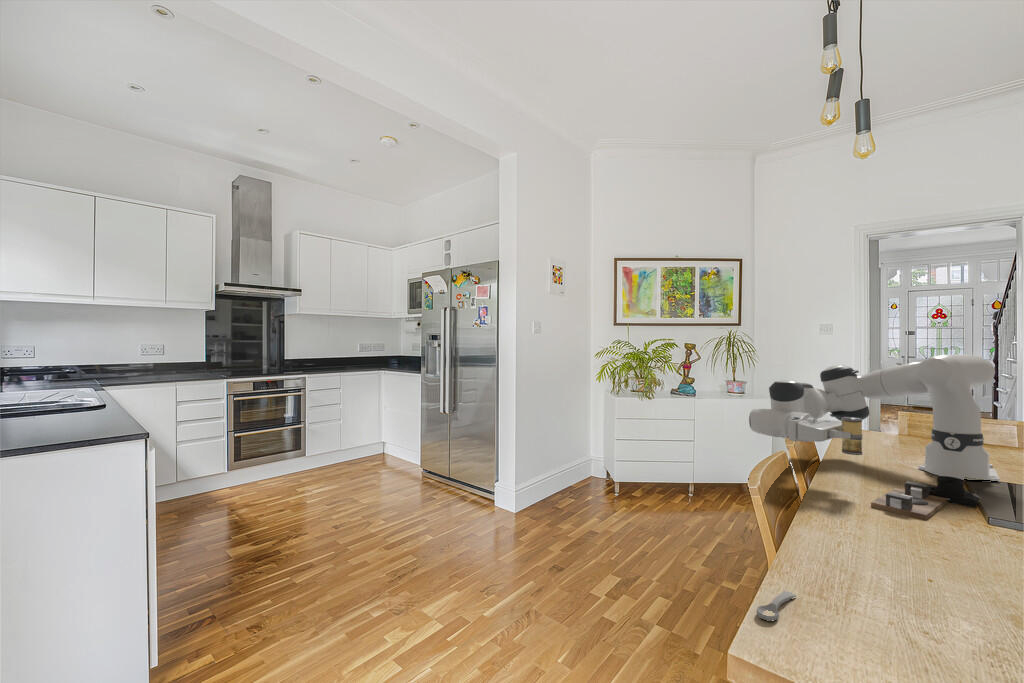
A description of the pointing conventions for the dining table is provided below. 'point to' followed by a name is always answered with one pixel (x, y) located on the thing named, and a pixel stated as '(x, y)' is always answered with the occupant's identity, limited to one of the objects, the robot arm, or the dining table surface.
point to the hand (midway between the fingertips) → (855, 434)
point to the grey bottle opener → (774, 606)
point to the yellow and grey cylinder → (854, 443)
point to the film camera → (954, 491)
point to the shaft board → (916, 508)
